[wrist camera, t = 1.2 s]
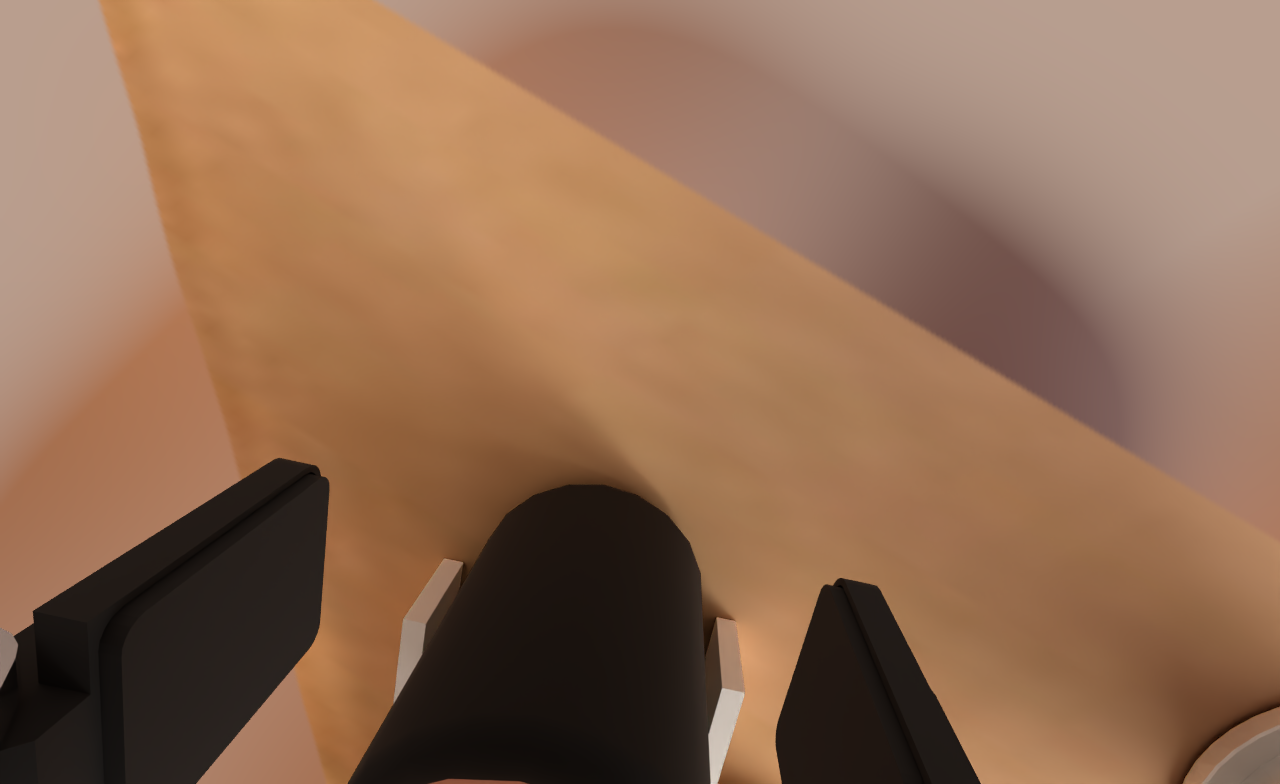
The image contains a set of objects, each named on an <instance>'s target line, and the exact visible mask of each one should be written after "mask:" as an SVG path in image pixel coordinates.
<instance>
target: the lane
mask: <svg viewBox="0 0 1280 784" xmlns="http://www.w3.org/2000/svg"><path fill="white" fill-rule="evenodd" d="M462 569H463V562H459V561H455V560H450V559H446V558H444V559H443V560H442V562H441V563H440V565H439V566H438V568H437V569H436V571H435V572H434V574H433V575H432V577H431V578H430V580H429V581H428V583H427V584H426V586H425V587H424V589H423V590H422V592H421V593H420V595H419V596H418V598H417V599H416V601H415V602H414V604H413V605H412V607H411V608H410V609H409V611H408V612H407V614H406V615H405V617H404V618H403V625H402V633H401V642H400V650H399V659H398V668H397V676H396V685H395V693H394V702H395V701H396V699H397V697H398V696H399V694H400V692H401V690H402V689H403V687H404V685H405V683H406V682H407V680H408V678H409V677H410V675H411V673H412V671H413V670H414V668H415V666H416V664H417V663H418V661H419V659H420V657H421V656H422V654H423V652H424V651H425V649H426V647H427V645H428V644H429V642H430V640H431V638H432V637H433V635H434V633H435V632H436V630H437V628H438V626H439V625H440V623H441V621H442V619H443V618H444V616H445V614H446V613H447V611H448V609H449V607H450V606H451V604H452V602H453V600H454V599H455V597H456V595H457V593H458V592H459V590H460V583H461V576H462ZM705 676H706V696H707V717H708V738H709V758H710V779H711V784H717V783H718V780H719V777H720V774H721V770H722V767H723V764H724V760H725V757H726V754H727V751H728V747H729V744H730V741H731V737H732V734H733V731H734V728H735V724H736V721H737V718H738V715H739V711H740V708H741V705H742V701H743V698H744V695H745V688H744V680H743V672H742V665H741V657H740V649H739V641H738V633H737V625H736V621H732V620H728V619H723V618H719V617H716V621H715V624H714V628H713V631H712V635H711V639H710V642H709V646H708V649H707V653H706V657H705ZM394 702H393V704H394Z"/></svg>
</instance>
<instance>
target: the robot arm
mask: <svg viewBox="0 0 1280 784" xmlns="http://www.w3.org/2000/svg"><path fill="white" fill-rule="evenodd" d="M328 502H329V481H328V479H327V478H326V477H321V474H320V470H319V468H318V467H317V466H315V465H310V464H305V463H301V462H296V461H291V460H287V459H282V458H277V459H275V460H273V461H271V462H270V463H268V464H266V465H265V466H263V467H262V468H260V469H258V470H257V471H255V472H254V473H252V474H250V475H249V476H247V477H246V478H244V479H242V480H241V481H239V482H238V483H236V484H234V485H233V486H231V487H230V488H228V489H226V490H225V491H223V492H222V493H220V494H219V495H217V496H215V497H214V498H212V499H211V500H209V501H207V502H206V503H204V504H203V505H201V506H199V507H198V508H196V509H195V510H193V511H191V512H190V513H188V514H187V515H185V516H183V517H182V518H180V519H179V520H177V521H175V522H174V523H172V524H171V525H169V526H168V527H166V528H164V529H163V530H161V531H160V532H158V533H156V534H155V535H153V536H152V537H150V538H148V539H147V540H145V541H144V542H142V543H141V544H139V545H138V546H136V547H134V548H132V549H131V550H129V551H128V552H126V553H124V554H123V555H121V556H120V557H118V558H117V559H115V560H113V561H112V562H110V563H109V564H107V565H105V566H104V567H103V568H101V569H99V570H97V571H96V572H94V573H93V574H91V575H90V576H88V577H86V578H85V579H83V580H81V581H80V582H78V583H77V584H75V585H74V586H72V587H71V588H69V589H67V590H66V591H64V592H62V593H61V594H59V595H58V596H56V597H54V598H53V599H51V600H50V601H48V602H47V603H45V604H43V605H42V606H40V607H39V608H37V609H35V610H34V611H33V616H34V617H33V618H34V623H33V624H32V625H30V626H29V627H27V628H26V629H24V630H23V631H21V632H20V633H18V634H16V635H15V636H13V635H12V634H11V633H9V632H7V631H5V630H4V629H2V628H0V784H196V783H197V782H198V781H199V779H200V778H201V777H202V776H203V775H204V774H205V772H206V771H207V770H208V769H209V767H210V766H211V765H212V764H213V763H214V762H215V760H216V759H217V758H218V757H219V756H220V754H221V753H222V752H223V751H224V750H225V748H226V747H227V746H228V745H229V744H230V742H231V741H232V740H233V739H234V738H235V737H236V735H237V734H238V733H239V732H240V730H241V729H242V728H243V727H244V726H245V724H246V723H247V722H248V721H249V720H250V718H251V717H252V716H253V715H254V714H255V713H256V711H257V710H258V709H259V708H260V707H261V706H262V704H263V703H264V702H265V701H266V700H267V698H268V697H269V696H270V695H271V694H272V692H273V691H274V690H275V689H276V688H277V686H278V685H279V684H280V683H281V682H282V680H283V679H284V678H285V677H286V676H287V675H288V673H289V672H290V671H291V670H292V669H293V667H294V666H295V665H296V664H297V663H298V661H299V660H300V659H301V658H302V657H303V655H304V654H305V653H306V652H307V651H308V649H309V648H310V647H311V645H312V644H313V642H314V640H315V638H316V635H317V633H318V629H319V625H320V615H321V601H322V587H323V572H324V558H325V544H326V530H327V516H328ZM776 751H777V757H778V763H779V769H780V774H781V780H782V784H981V783H980V781H979V779H978V777H977V775H976V773H975V771H974V769H973V768H972V766H971V764H970V762H969V760H968V758H967V756H966V754H965V752H964V750H963V748H962V746H961V744H960V742H959V740H958V738H957V736H956V734H955V732H954V731H953V729H952V727H951V725H950V723H949V721H948V719H947V717H946V715H945V713H944V711H943V709H942V707H941V705H940V703H939V701H938V699H937V697H936V696H935V694H934V693H933V691H932V690H931V689H930V687H929V685H928V683H927V681H926V679H925V677H924V675H923V673H922V671H921V669H920V667H919V665H918V663H917V661H916V659H915V657H914V655H913V653H912V652H911V650H910V648H909V646H908V644H907V642H906V640H905V638H904V636H903V634H902V632H901V630H900V628H899V626H898V624H897V622H896V620H895V618H894V616H893V614H892V612H891V610H890V608H889V606H888V605H887V603H886V601H885V599H884V597H883V595H882V593H881V591H880V589H879V588H878V587H877V586H875V585H871V584H867V583H862V582H857V581H853V580H848V579H843V578H839V579H837V581H836V582H835V583H834V585H833V586H831V585H827V584H826V585H824V586H823V588H822V589H821V592H820V594H819V597H818V600H817V603H816V606H815V609H814V612H813V616H812V619H811V622H810V625H809V628H808V631H807V634H806V637H805V640H804V643H803V646H802V649H801V652H800V655H799V659H798V662H797V665H796V668H795V671H794V674H793V677H792V680H791V683H790V686H789V689H788V692H787V695H786V698H785V702H784V705H783V708H782V711H781V714H780V717H779V720H778V724H777V729H776ZM1183 784H1280V707H1277V708H1274V709H1272V710H1269V711H1267V712H1264V713H1261V714H1259V715H1256V716H1254V717H1252V718H1250V719H1248V720H1246V721H1245V722H1243V723H1241V724H1239V725H1237V726H1236V727H1234V728H1232V729H1230V730H1229V731H1228V732H1227V733H1225V734H1224V735H1223V736H1221V737H1220V738H1219V739H1217V740H1216V741H1215V742H1214V743H1212V744H1211V745H1210V746H1209V747H1208V748H1207V749H1206V751H1205V752H1204V753H1203V754H1202V755H1201V756H1200V757H1199V758H1198V759H1197V760H1196V762H1195V763H1194V765H1193V766H1192V768H1191V770H1190V771H1189V773H1188V774H1187V776H1186V777H1185V780H1184V782H1183Z"/></svg>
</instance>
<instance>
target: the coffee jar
mask: <svg viewBox="0 0 1280 784" xmlns="http://www.w3.org/2000/svg"><path fill="white" fill-rule="evenodd" d="M348 784H711V779H710V758H709V738H708V717H707V696H706V676H705V655H704V634H703V614H702V593H701V573H700V570H699V567H698V565H697V562H696V559H695V556H694V554H693V551H692V548H691V545H690V542H689V541H688V540H687V539H686V537H685V536H684V535H683V534H682V533H681V531H680V530H679V529H678V528H677V526H676V525H675V524H674V523H673V521H672V520H671V519H670V518H669V516H668V515H666V514H665V513H664V512H662V511H661V510H659V509H658V508H656V507H655V506H653V505H651V504H650V503H648V502H647V501H645V500H644V499H642V498H641V497H639V496H638V495H635V494H632V493H629V492H626V491H622V490H619V489H616V488H612V487H609V486H606V485H566V486H563V487H560V488H556V489H553V490H550V491H546V492H543V493H540V494H536V495H533V496H532V497H531V498H529V499H528V500H526V501H525V502H523V503H522V504H521V505H519V506H518V507H516V508H515V509H513V510H512V511H511V512H509V513H508V514H506V516H505V517H504V519H503V520H502V521H501V523H500V524H499V526H498V527H497V529H496V530H495V531H494V533H493V534H492V536H491V537H490V538H489V540H488V542H487V543H486V545H485V547H484V548H483V550H482V552H481V554H480V555H479V557H478V559H477V561H476V562H475V564H474V566H473V568H472V569H471V571H470V573H469V574H468V576H467V578H466V580H465V581H464V583H463V585H462V587H461V588H460V590H459V592H458V593H457V595H456V597H455V599H454V600H453V602H452V604H451V606H450V607H449V609H448V611H447V613H446V614H445V616H444V618H443V619H442V621H441V623H440V625H439V626H438V628H437V630H436V632H435V633H434V635H433V637H432V638H431V640H430V642H429V644H428V645H427V647H426V649H425V651H424V652H423V654H422V656H421V657H420V659H419V661H418V663H417V664H416V666H415V668H414V670H413V671H412V673H411V675H410V677H409V678H408V680H407V682H406V683H405V685H404V687H403V689H402V690H401V692H400V694H399V696H398V697H397V699H396V701H395V702H394V704H393V706H392V708H391V709H390V711H389V713H388V715H387V716H386V718H385V720H384V722H383V723H382V725H381V727H380V728H379V730H378V732H377V734H376V735H375V737H374V739H373V741H372V742H371V744H370V746H369V747H368V749H367V751H366V753H365V754H364V756H363V758H362V760H361V761H360V763H359V765H358V767H357V768H356V770H355V772H354V773H353V775H352V777H351V779H350V780H349V782H348Z"/></svg>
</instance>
